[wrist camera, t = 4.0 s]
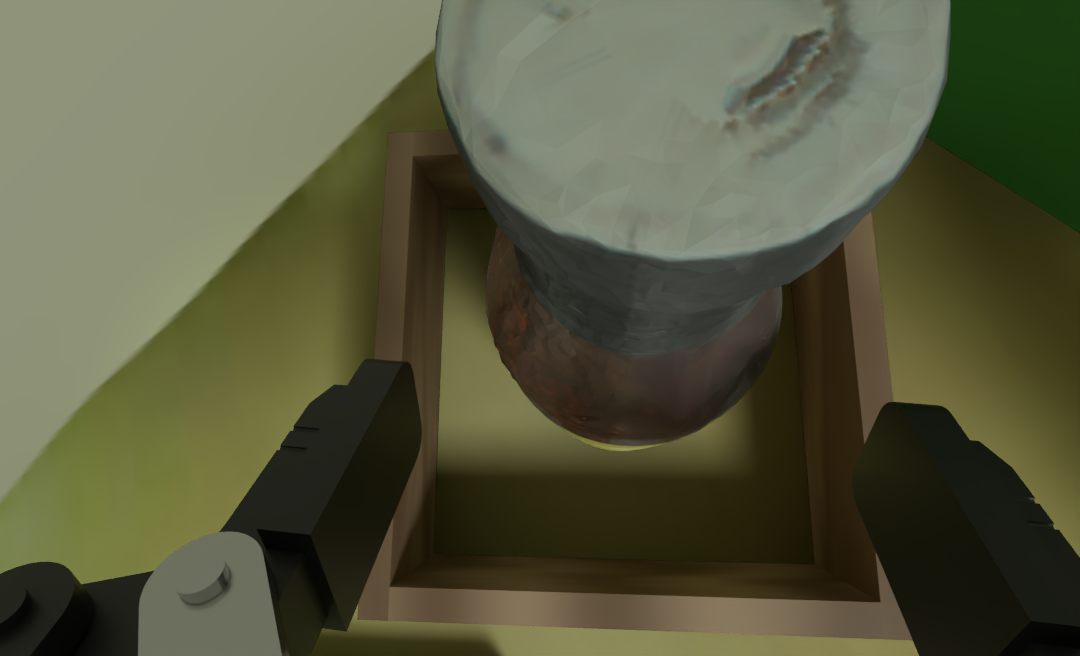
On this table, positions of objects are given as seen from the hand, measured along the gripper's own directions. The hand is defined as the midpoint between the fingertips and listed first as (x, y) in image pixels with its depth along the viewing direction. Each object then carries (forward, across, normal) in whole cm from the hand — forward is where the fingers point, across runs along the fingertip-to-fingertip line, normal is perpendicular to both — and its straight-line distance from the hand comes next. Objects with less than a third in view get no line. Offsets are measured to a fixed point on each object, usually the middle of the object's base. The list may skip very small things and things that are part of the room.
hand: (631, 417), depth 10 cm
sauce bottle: (+11, 0, +8) cm, 14 cm away
